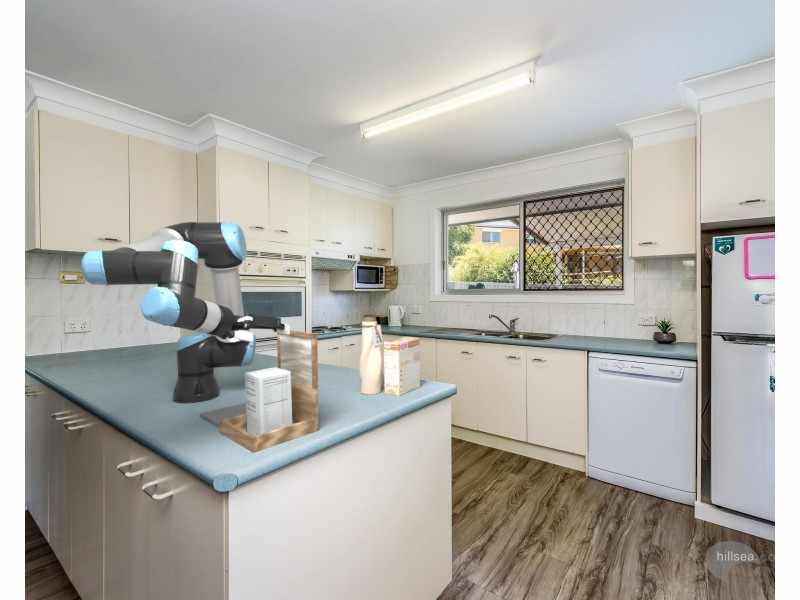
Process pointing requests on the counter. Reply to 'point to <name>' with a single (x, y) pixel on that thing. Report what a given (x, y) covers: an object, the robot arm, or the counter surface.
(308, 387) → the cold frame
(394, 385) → the coffeecake box
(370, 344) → the water bottle
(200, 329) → the robot arm
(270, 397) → the supplement box
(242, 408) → the mat
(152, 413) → the counter surface
